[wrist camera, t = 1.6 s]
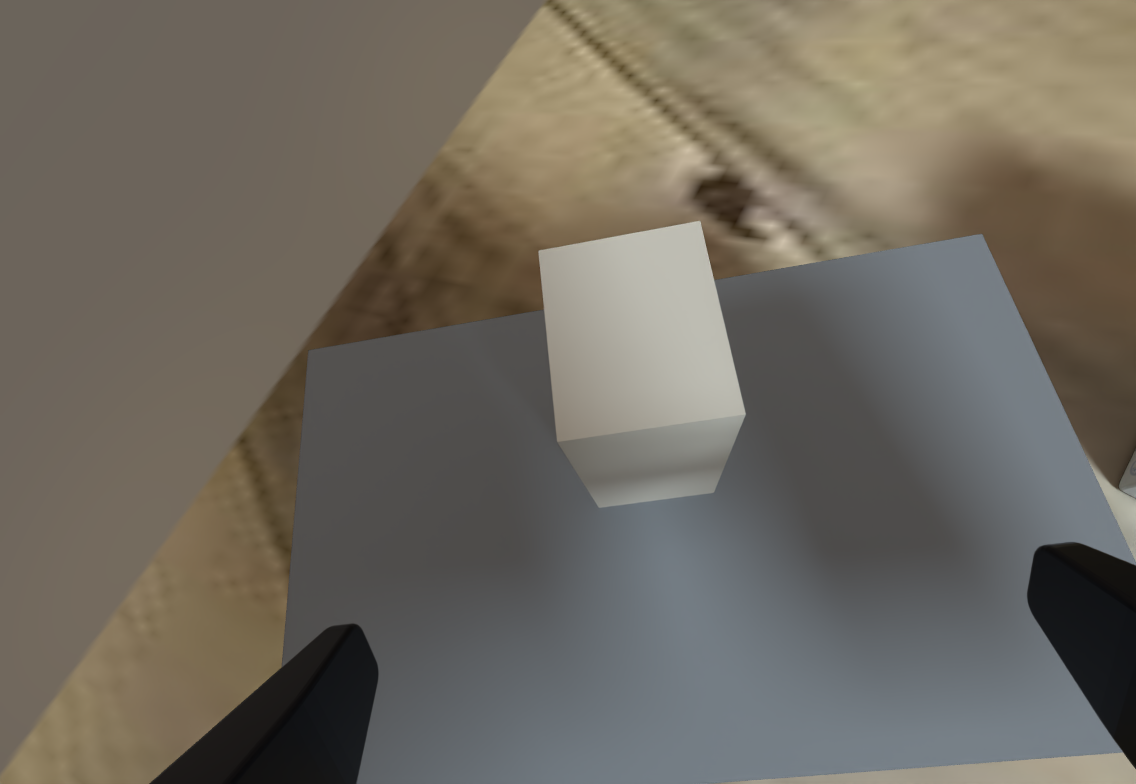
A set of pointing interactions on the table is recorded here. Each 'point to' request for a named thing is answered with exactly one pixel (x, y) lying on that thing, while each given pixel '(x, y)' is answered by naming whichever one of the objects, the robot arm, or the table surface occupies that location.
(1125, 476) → the light bulb box
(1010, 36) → the table surface
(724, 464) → the carton lid
